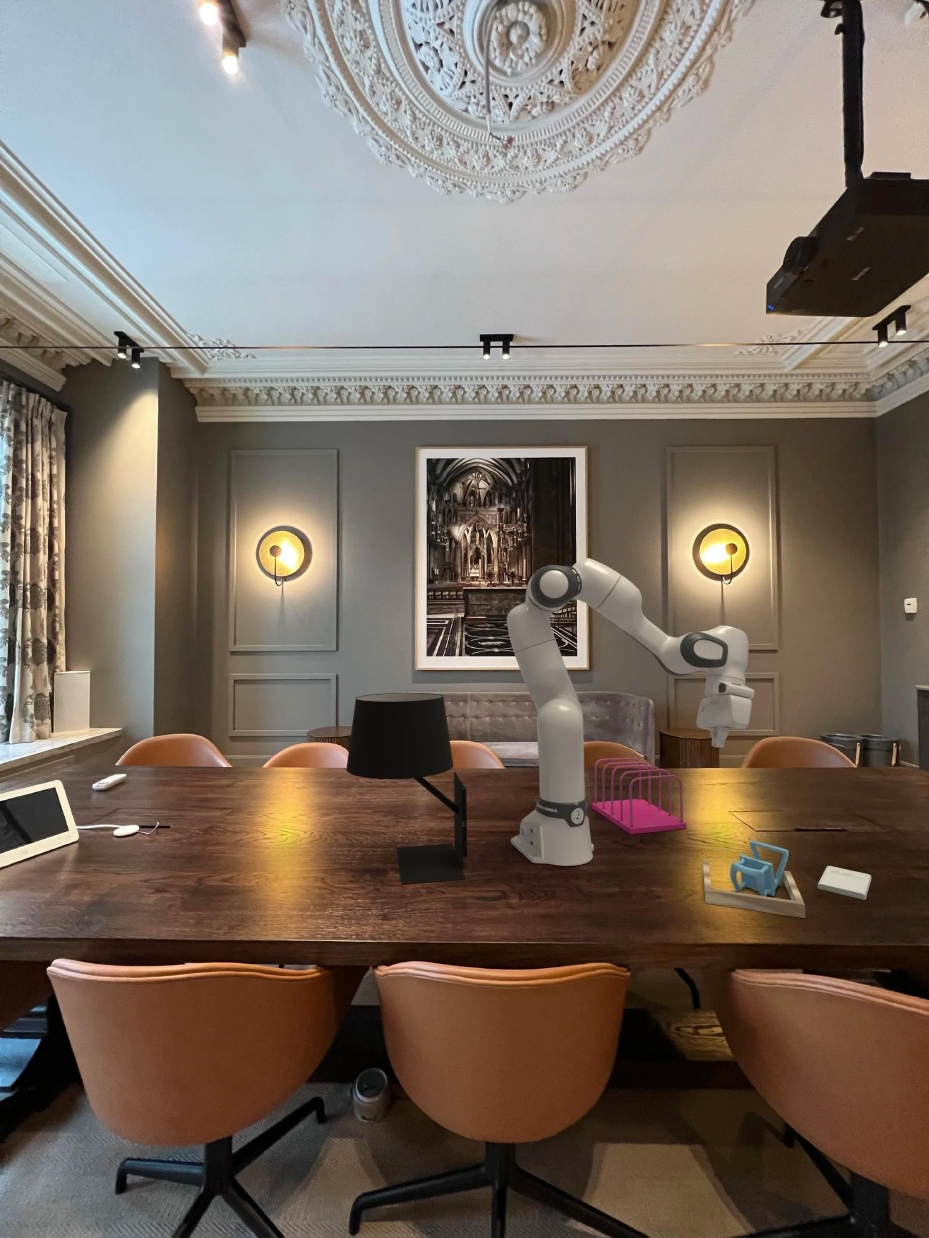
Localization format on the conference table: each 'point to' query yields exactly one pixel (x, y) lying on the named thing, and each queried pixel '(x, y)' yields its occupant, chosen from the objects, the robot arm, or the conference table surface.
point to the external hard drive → (845, 882)
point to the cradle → (756, 898)
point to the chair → (758, 871)
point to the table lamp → (411, 769)
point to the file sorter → (638, 803)
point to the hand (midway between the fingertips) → (717, 746)
